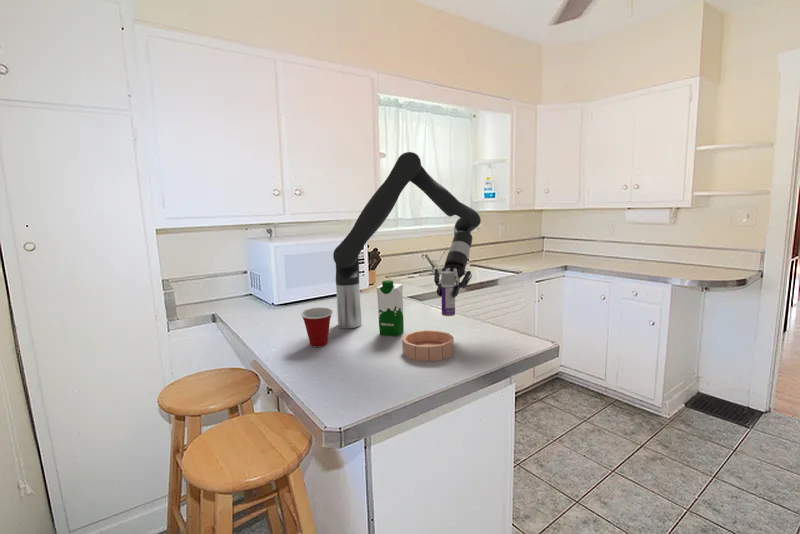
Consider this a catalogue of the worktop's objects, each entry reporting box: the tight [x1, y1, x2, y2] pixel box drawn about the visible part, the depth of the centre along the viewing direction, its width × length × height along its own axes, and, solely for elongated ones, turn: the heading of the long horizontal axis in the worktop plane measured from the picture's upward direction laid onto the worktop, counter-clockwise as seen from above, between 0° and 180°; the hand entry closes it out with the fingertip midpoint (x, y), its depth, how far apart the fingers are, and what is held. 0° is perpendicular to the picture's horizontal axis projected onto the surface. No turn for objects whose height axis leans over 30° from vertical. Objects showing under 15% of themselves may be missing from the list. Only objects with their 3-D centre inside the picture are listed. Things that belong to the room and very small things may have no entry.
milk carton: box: [376, 279, 405, 337], centre depth 149 cm, size 9×9×20 cm
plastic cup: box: [300, 307, 333, 348], centre depth 140 cm, size 11×11×12 cm
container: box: [440, 271, 456, 317], centre depth 140 cm, size 5×5×15 cm
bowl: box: [401, 329, 455, 362], centre depth 130 cm, size 16×16×4 cm
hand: (446, 295), depth 138 cm, fingers closed on container, 4 cm apart
